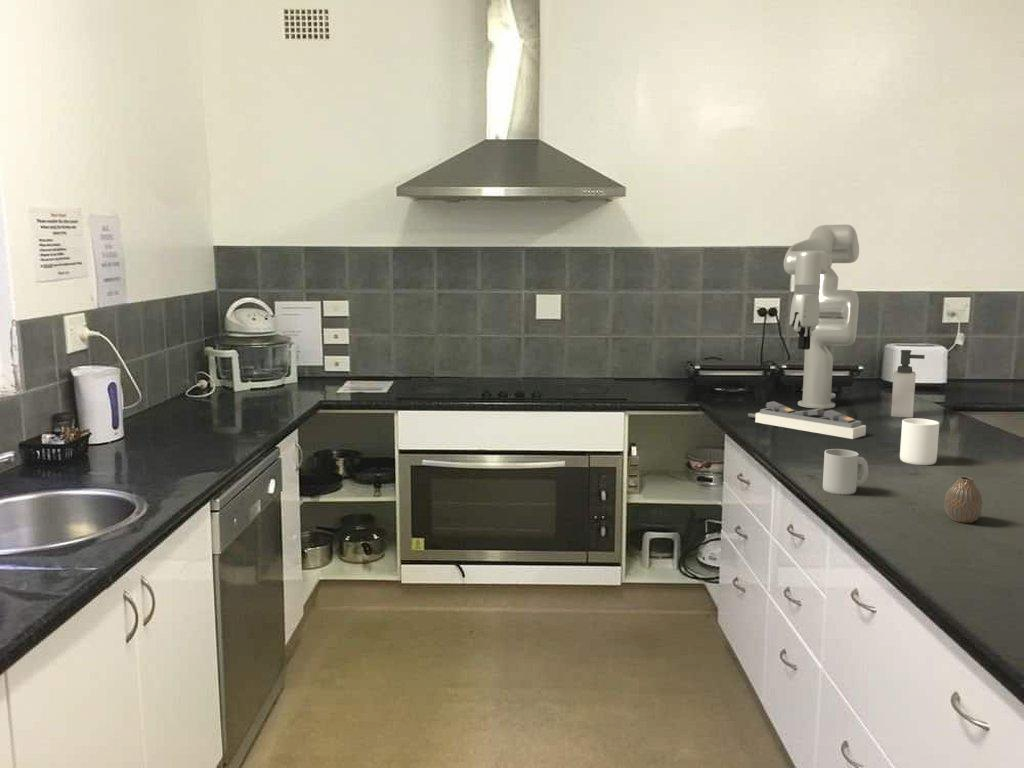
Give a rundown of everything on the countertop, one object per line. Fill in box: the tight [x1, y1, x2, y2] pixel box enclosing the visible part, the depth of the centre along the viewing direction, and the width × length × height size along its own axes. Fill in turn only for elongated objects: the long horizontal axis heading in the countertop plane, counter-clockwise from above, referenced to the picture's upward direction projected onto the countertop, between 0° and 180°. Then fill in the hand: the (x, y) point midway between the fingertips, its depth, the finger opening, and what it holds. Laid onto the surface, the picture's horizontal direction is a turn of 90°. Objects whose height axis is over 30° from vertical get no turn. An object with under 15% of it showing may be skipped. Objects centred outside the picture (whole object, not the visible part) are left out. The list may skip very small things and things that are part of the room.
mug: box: [899, 417, 940, 466], centre depth 208 cm, size 9×12×11 cm
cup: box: [822, 448, 869, 496], centre depth 182 cm, size 7×10×9 cm
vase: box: [944, 476, 985, 524], centre depth 161 cm, size 7×7×9 cm
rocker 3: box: [822, 409, 856, 423], centre depth 240 cm, size 4×8×2 cm, turn 39°
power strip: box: [747, 407, 867, 440], centre depth 250 cm, size 8×38×4 cm, turn 39°
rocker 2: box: [794, 408, 825, 416], centre depth 248 cm, size 4×8×2 cm, turn 39°
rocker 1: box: [765, 400, 796, 413], centre depth 256 cm, size 4×8×2 cm, turn 39°
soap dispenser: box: [890, 349, 925, 418], centre depth 266 cm, size 6×9×22 cm
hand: (803, 349), depth 251 cm, fingers closed
